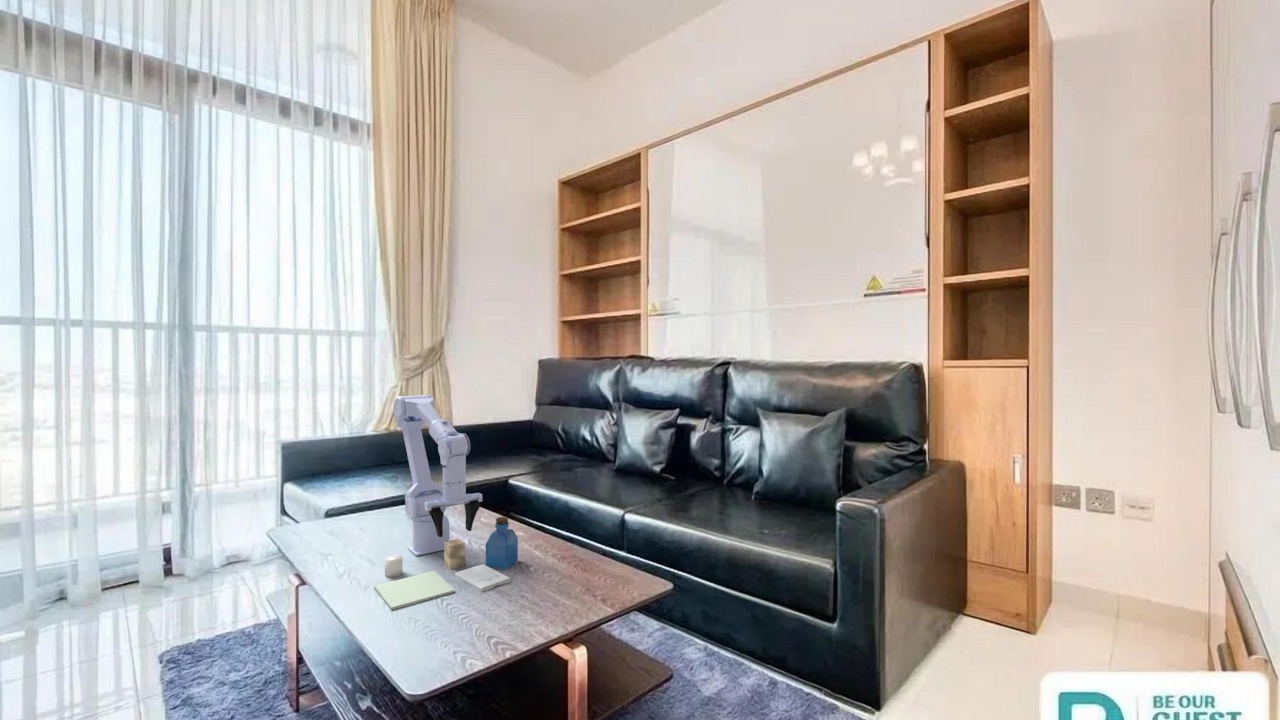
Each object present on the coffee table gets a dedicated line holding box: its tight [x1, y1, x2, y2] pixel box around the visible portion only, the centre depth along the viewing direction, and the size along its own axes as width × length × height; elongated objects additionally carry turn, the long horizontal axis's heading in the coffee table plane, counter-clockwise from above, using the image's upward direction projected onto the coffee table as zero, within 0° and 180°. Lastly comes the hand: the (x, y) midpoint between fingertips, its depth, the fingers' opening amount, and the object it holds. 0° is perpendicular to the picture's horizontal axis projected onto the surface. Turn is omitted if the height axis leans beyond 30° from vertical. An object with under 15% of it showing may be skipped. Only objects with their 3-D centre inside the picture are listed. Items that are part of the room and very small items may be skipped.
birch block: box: [443, 538, 466, 570], centre depth 143 cm, size 4×4×6 cm
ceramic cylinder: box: [384, 554, 403, 578], centre depth 137 cm, size 4×4×4 cm
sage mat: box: [373, 570, 456, 611], centre depth 128 cm, size 14×14×1 cm
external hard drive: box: [454, 563, 512, 593], centre depth 135 cm, size 2×8×12 cm
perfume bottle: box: [485, 516, 519, 570], centre depth 144 cm, size 6×6×12 cm
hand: (454, 532), depth 143 cm, fingers open, 7 cm apart
